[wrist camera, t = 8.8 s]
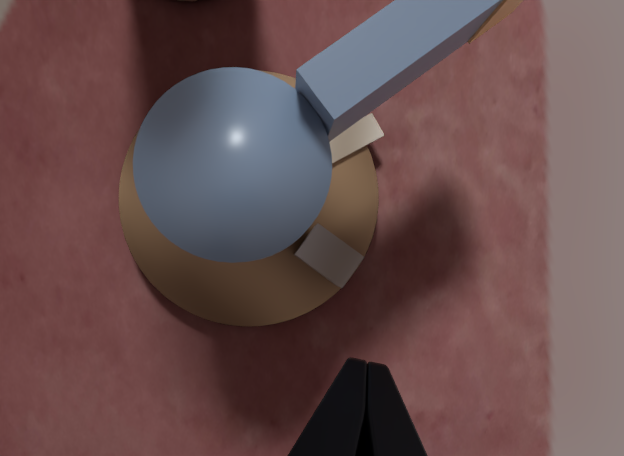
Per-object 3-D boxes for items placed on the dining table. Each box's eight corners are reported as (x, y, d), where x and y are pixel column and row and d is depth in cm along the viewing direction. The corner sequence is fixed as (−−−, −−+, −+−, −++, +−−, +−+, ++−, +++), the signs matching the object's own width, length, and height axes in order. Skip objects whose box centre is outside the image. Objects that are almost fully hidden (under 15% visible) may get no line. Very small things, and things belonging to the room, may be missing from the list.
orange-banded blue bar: (220, 297, 16) (205, 307, 12) (116, 156, 16) (75, 131, 13) (542, 58, 17) (600, 13, 14) (444, -71, 17) (480, -145, 14)
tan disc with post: (309, 365, 22) (319, 407, 16) (80, 255, 22) (-1, 255, 15) (414, 144, 23) (462, 102, 17) (197, 36, 23) (165, -48, 16)
